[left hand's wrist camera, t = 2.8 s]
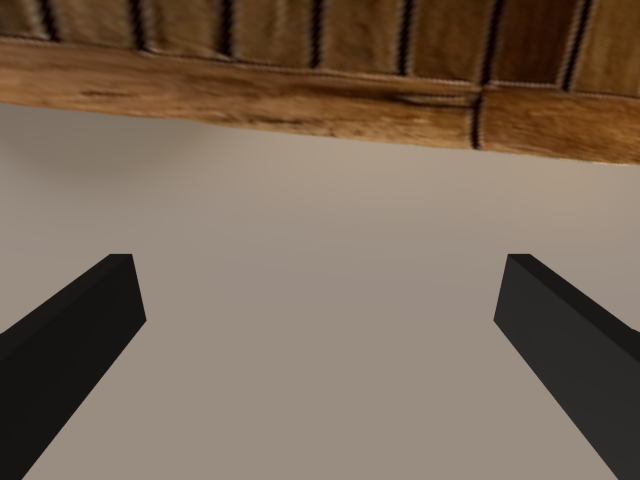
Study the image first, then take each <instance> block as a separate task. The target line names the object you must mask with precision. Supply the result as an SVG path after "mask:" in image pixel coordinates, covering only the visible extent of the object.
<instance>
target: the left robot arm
mask: <svg viewBox="0 0 640 480" xmlns="http://www.w3.org/2000/svg"><path fill="white" fill-rule="evenodd" d="M145 322H146V316H145V311H144V307H143V302H142V298H141V293H140V288H139V284H138V279H137V275H136V270H135V265H134V261H133V256H132V254H109V255H108V256H107V257H105V258H104V259H103V260H101V261H100V262H98V263H97V264H96V265H94V266H93V267H92V268H90V269H89V270H88V271H86V272H85V273H84V274H82V275H81V276H79V277H78V278H77V279H75V280H74V281H73V282H71V283H70V284H69V285H67V286H66V287H64V288H63V289H62V290H60V291H59V292H58V293H56V294H55V295H54V296H52V297H51V298H50V299H48V300H47V301H45V302H44V303H43V304H41V305H40V306H39V307H37V308H36V309H35V310H33V311H32V312H30V313H29V314H28V315H26V316H25V317H24V318H22V319H21V320H20V321H18V322H17V323H16V324H14V325H13V326H11V327H10V328H9V329H7V330H6V331H5V332H3V333H1V334H0V480H22V478H23V477H24V476H25V475H26V473H27V472H28V471H29V470H30V468H31V467H32V466H33V465H34V463H35V462H36V461H37V459H38V458H39V457H40V456H41V454H42V453H43V452H44V450H45V449H46V448H47V447H48V445H49V444H50V443H51V442H52V440H53V439H54V438H55V436H56V435H57V434H58V433H59V431H60V430H61V429H62V427H63V426H64V425H65V424H66V422H67V421H68V420H69V419H70V417H71V416H72V415H73V414H74V412H75V411H76V410H77V408H78V407H79V406H80V405H81V403H82V402H83V401H84V400H85V398H86V397H87V396H88V394H89V393H90V392H91V391H92V389H93V388H94V387H95V386H96V384H97V383H98V382H99V380H100V379H101V378H102V377H103V375H104V374H105V373H106V372H107V370H108V369H109V368H110V366H111V365H112V364H113V363H114V361H115V360H116V359H117V358H118V356H119V355H120V354H121V352H122V351H123V350H124V349H125V347H126V346H127V345H128V343H129V342H130V341H131V340H132V338H133V337H134V336H135V335H136V333H137V332H138V331H139V329H140V328H141V327H142V326H143V324H144V323H145ZM494 322H495V323H496V324H497V326H498V327H499V328H500V329H501V331H502V332H503V333H504V335H505V336H506V337H507V338H508V340H509V341H510V342H511V343H512V345H513V346H514V347H515V349H516V350H517V351H518V352H519V354H520V355H521V356H522V358H523V359H524V360H525V361H526V363H527V364H528V365H529V366H530V368H531V369H532V370H533V372H534V373H535V374H536V375H537V377H538V378H539V379H540V380H541V382H542V383H543V384H544V386H545V387H546V388H547V389H548V391H549V392H550V393H551V394H552V396H553V397H554V398H555V400H556V401H557V402H558V403H559V405H560V406H561V407H562V408H563V410H564V411H565V412H566V414H567V415H568V416H569V417H570V419H571V420H572V421H573V422H574V424H575V425H576V426H577V428H578V429H579V430H580V431H581V433H582V434H583V435H584V436H585V438H586V439H587V440H588V442H589V443H590V444H591V445H592V447H593V448H594V449H595V451H596V452H597V453H598V454H599V456H600V457H601V458H602V459H603V461H604V462H605V463H606V465H607V466H608V467H609V468H610V470H611V471H612V472H613V473H614V475H615V476H616V477H617V478H618V480H640V332H638V331H636V330H634V329H631V328H630V327H629V326H627V325H626V324H624V323H623V322H622V321H620V320H619V319H618V318H616V317H615V316H614V315H612V314H611V313H609V312H608V311H607V310H605V309H604V308H603V307H601V306H600V305H599V304H597V303H596V302H594V301H593V300H592V299H590V298H589V297H588V296H586V295H585V294H584V293H582V292H581V291H580V290H578V289H577V288H575V287H574V286H573V285H571V284H570V283H569V282H567V281H566V280H565V279H563V278H562V277H561V276H559V275H558V274H556V273H555V272H554V271H552V270H551V269H550V268H548V267H547V266H546V265H544V264H543V263H542V262H540V261H539V260H537V259H536V258H535V257H533V256H532V255H531V254H508V256H507V261H506V265H505V270H504V274H503V279H502V284H501V288H500V293H499V297H498V302H497V307H496V311H495V316H494Z"/></svg>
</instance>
